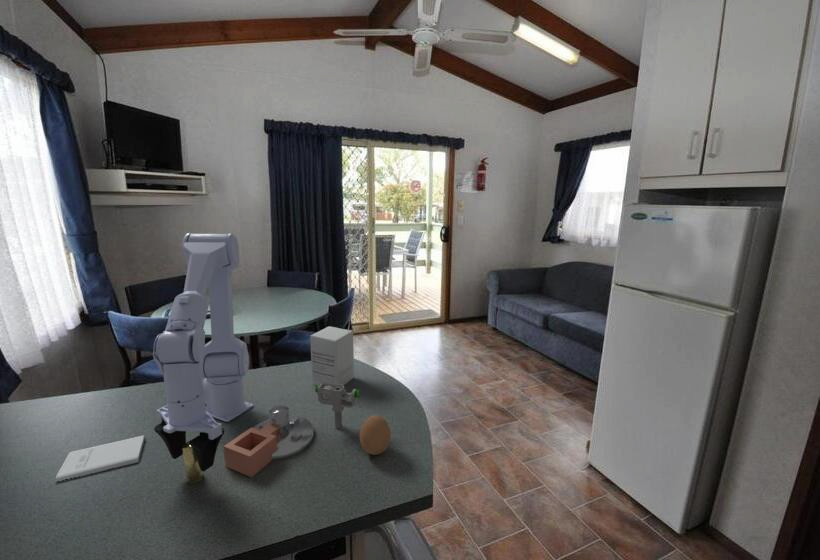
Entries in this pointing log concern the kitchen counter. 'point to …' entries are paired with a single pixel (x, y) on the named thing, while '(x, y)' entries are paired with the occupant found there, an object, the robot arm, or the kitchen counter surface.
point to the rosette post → (288, 432)
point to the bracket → (252, 449)
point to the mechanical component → (336, 399)
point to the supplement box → (332, 356)
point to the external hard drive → (101, 458)
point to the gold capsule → (191, 464)
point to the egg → (375, 435)
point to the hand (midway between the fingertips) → (192, 461)
